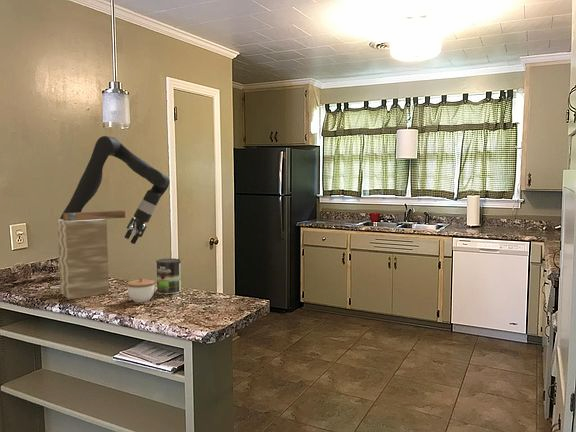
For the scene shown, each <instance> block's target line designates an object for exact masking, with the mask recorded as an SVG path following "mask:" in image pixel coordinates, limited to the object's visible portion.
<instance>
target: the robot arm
mask: <svg viewBox="0 0 576 432" xmlns="http://www.w3.org/2000/svg"><path fill="white" fill-rule="evenodd" d="M109 156H110V157H115V158H117V159H119V160H120V161H122V162H123V163H125V164H126V165H127V166H128V168H129V169H131V170H132V171H133V172H134V173H135V174H137V175H139V176H140V177H141V178H143V179H144V180H146V181H148V182H149V183H150V184H151V185H152V186H151V188H150V189H148V190H147V191H146V193H145V195H144V196H143V198H142V200H141V201H140V202H139V204H138V206H137V208H136V210H135V212H134V214H133V217H132V218H131V219H130V220H129V223H128V224H127V226H126V229H127V231H126V233H125V234H124V238H125V239H126V240H130V237H132V238H131V240H130V244H132V245H136V243H137V241H138V239H139V238H142V237H143V235H144V233H145V230H146V229H147V225H146V224H145V223H149V221H150V220H151V217H152V216H153V214H154V212H155V210H156V207H157V205H158V204H159V201H160V200H161V198H162V196H163V195H164V193H166V191H167V189H168V188H169V186H170V183H171V182H170V181H171V180H170V178H169V177H168V175H166V174H164V173H162V172H161V171H160V170H158V169H156V168H154V167H153V166H152V165H151V164H150V163H148V162H146V161H145V160H143V159H142V158H141V157H139V156H137V155H136V154H134V153H133V152H132V151H130V149H128V148H127V147H126V146H125V145H124V144H123V143H121V142H120V140H118V139H117V138H116V137H113V136H107V135H103V136H101V137H99V138H98V139H97V140H96V142H95V144H94V147H93V151H92V153H91V157H89V158H90V159H89V161H88V163H87V165H86V167H85V170H84V172H83V174H82V175H81V177H80V178H79V179H80V180H79V181H78V183H77V186H76V188H75V191H74V192H73V193H72V196H71V198H70V201H69V202H68V204H67V205H66V207H65V209H64V210H63V212H62V214H61V216H60V218H59V220H60V219H63V213H79V212H82V210H83V209H84V208H85V206H86V205H87V204H88V203H89V202H90V201H91V200H92V198H93V197H94V196H96V193H97V192H98V190H99V187H100V186H101V184H102V180H103V169H104V165H105V163H106V161H107V159H108V157H109ZM133 232H134V234H133ZM132 234H133V236H132Z"/></svg>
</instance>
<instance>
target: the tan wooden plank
mask: <svg viewBox="0 0 576 432" xmlns="http://www.w3.org/2000/svg"><path fill="white" fill-rule="evenodd" d="M62 213H63V212H62ZM123 218H126V211H125V210H107V211H104V210H103V211H85V212H82V211H81V212H79V213H63V220H64V221H75V220H92V219H106V220H107V219H123Z"/></svg>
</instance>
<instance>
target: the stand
mask: <svg viewBox="0 0 576 432" xmlns="http://www.w3.org/2000/svg"><path fill="white" fill-rule="evenodd" d="M107 224H108V222H107V219H92V220H75V221H64V220H63V219H60V218H59V219H57V235H58V236H57V237H58V260H59V262H58V263H59V265H58V266H59V286H60V287H59V288H60V294H62V296H64V297H65V298H67V299H68V300H73V299H75V300H76V299H80V298H86V297H93V296H98V295H106V294H110V286H109V285H110V282H109V254H108V252H109V250H108V249H109V248H108V228H107V227H108V225H107Z"/></svg>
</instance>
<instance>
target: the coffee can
mask: <svg viewBox="0 0 576 432" xmlns="http://www.w3.org/2000/svg"><path fill="white" fill-rule="evenodd" d="M155 262H156V288H157V289H156V291H157V294H158V295H161V294H165V295H164V296H168V295H167V294H173V295H176V294H175V293H178V294H180V293H181V292H182V289H181V288H182V281H181V280H182V278H181V277H182V276H181V275H182V274H181V270H182V269H181V264H182V263H181V262H182V260H181V259H180V258H173V257H172V258H161V259H158V260H156V261H155ZM179 292H180V293H179Z"/></svg>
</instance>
